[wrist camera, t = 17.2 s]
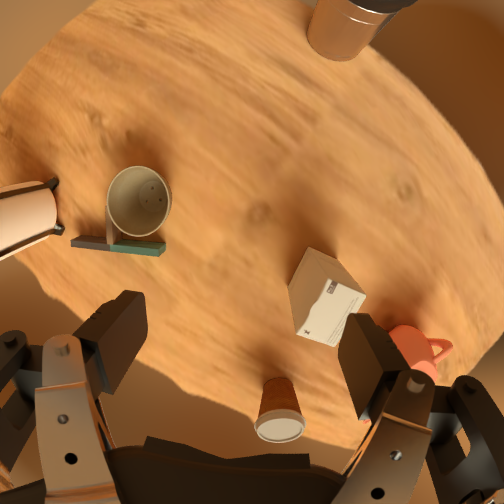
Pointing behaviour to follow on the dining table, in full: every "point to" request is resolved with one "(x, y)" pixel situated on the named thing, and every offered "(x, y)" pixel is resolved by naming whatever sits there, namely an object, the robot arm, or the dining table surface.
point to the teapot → (419, 350)
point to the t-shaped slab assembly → (118, 242)
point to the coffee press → (27, 215)
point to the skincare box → (322, 297)
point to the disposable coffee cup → (279, 413)
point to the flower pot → (139, 200)
